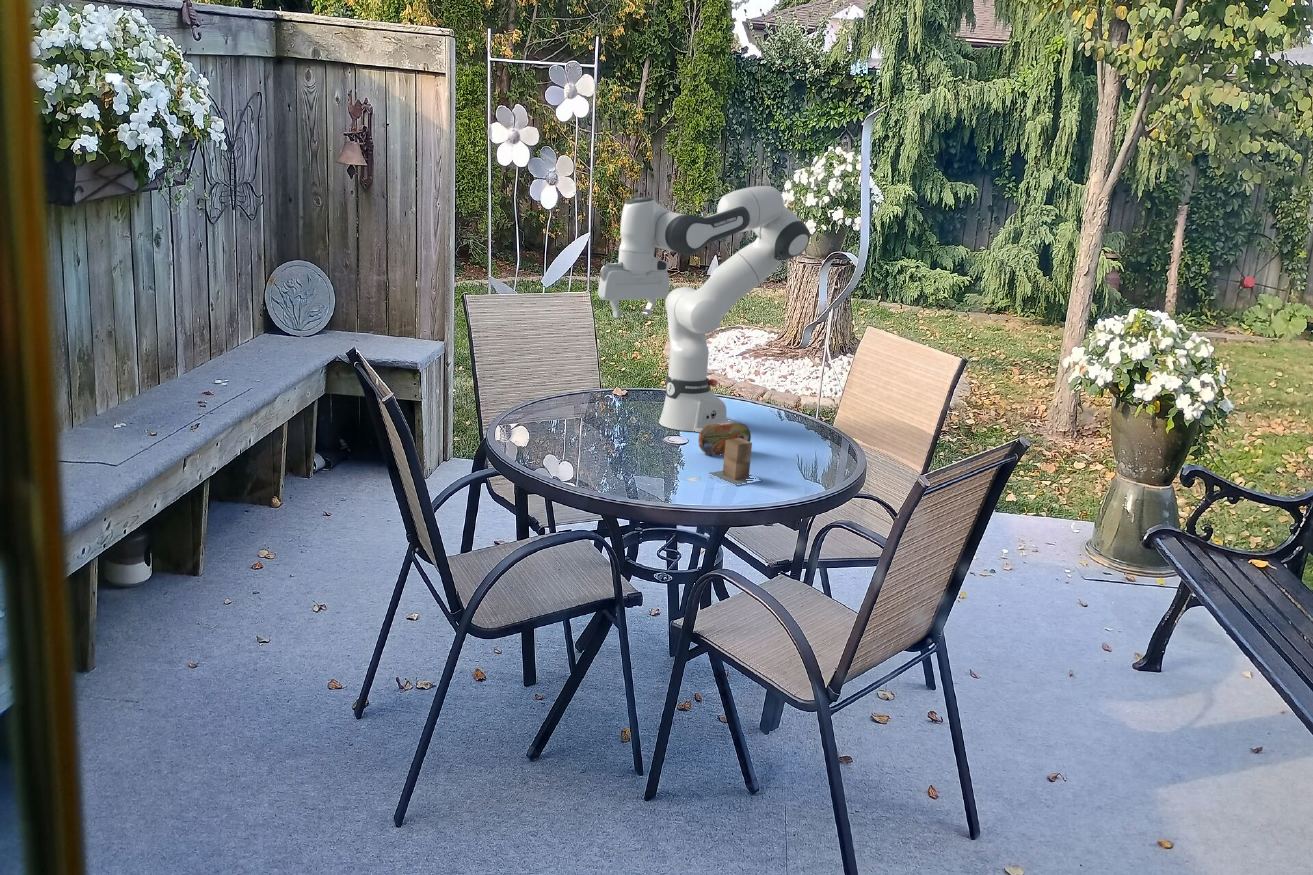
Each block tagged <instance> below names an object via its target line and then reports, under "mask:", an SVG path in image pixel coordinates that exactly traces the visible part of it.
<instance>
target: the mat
mask: <svg viewBox="0 0 1313 875" xmlns="http://www.w3.org/2000/svg"><path fill="white" fill-rule="evenodd" d="M709 474H712V475H714V476H717V477H719V478H720V479H719V478H718V479H719V480H721V479H723V480H725V481H728V482H730V483H733V484H735V485H737V484H742V483H747V481H753V480H746V479H754V478H750V477H749V478H743V479H738V480H733V479H731V478H729V477H727V476H724V475H723V470H718V471H713V472H709ZM709 474H708V475H709ZM712 475H711V476H712ZM714 476H713V477H714ZM749 476H753V475H751V474H750V475H749ZM755 479H756V478H755ZM723 480H722V481H723ZM725 481H724V482H725ZM728 482H727V483H728ZM730 483H729V484H730Z"/></svg>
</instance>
